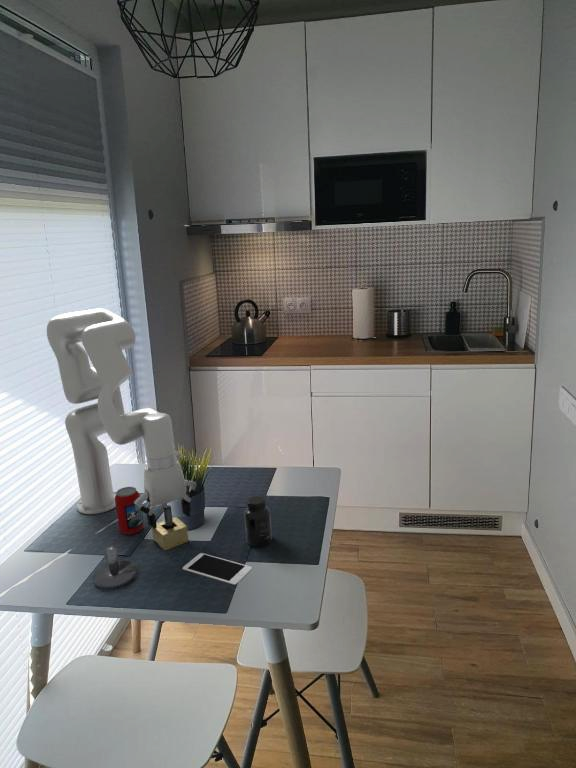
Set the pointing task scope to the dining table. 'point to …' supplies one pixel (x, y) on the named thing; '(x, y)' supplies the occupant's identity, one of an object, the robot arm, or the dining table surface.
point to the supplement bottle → (257, 522)
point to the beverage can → (128, 511)
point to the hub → (114, 572)
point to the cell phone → (217, 568)
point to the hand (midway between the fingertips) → (170, 520)
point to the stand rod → (168, 517)
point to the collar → (170, 534)
